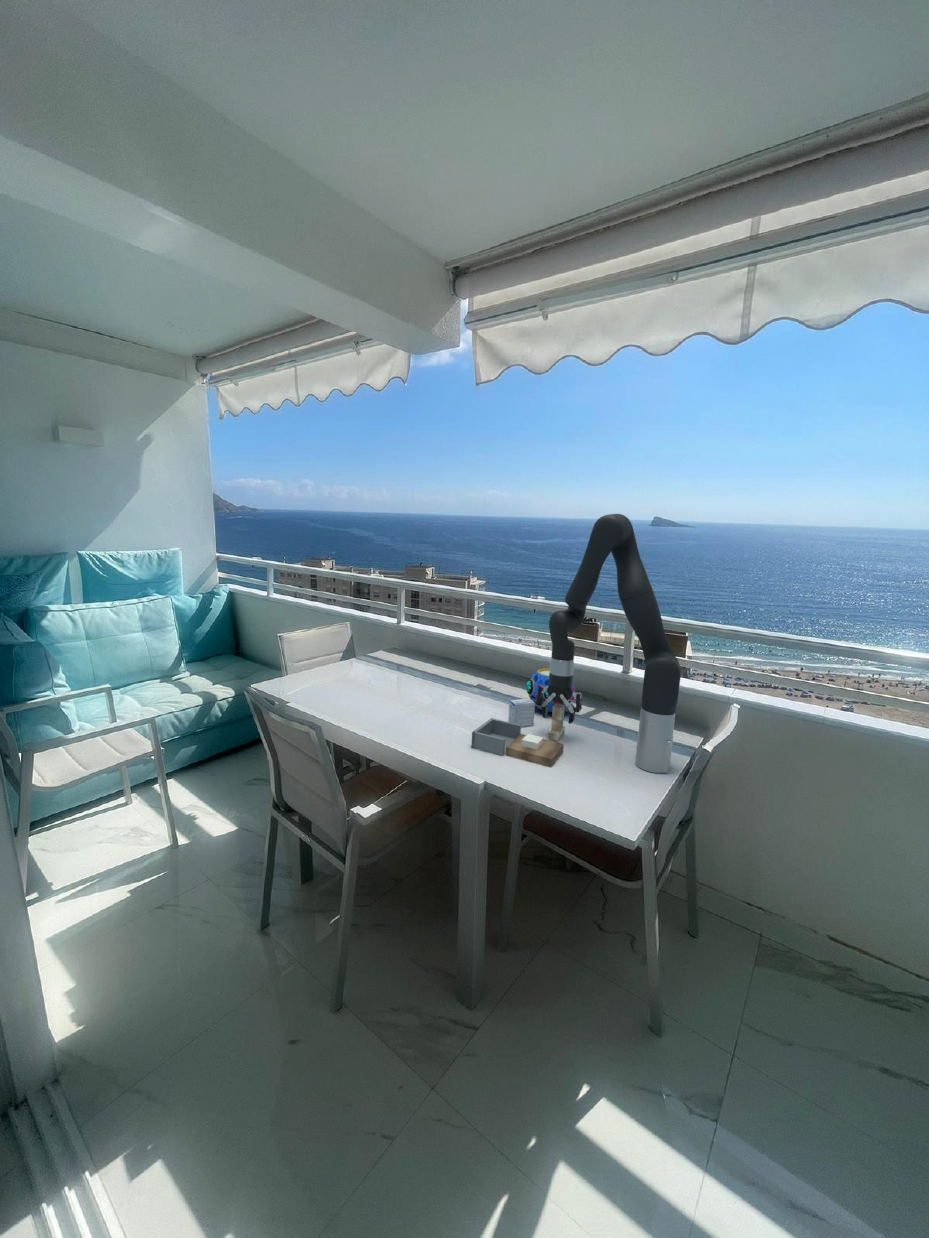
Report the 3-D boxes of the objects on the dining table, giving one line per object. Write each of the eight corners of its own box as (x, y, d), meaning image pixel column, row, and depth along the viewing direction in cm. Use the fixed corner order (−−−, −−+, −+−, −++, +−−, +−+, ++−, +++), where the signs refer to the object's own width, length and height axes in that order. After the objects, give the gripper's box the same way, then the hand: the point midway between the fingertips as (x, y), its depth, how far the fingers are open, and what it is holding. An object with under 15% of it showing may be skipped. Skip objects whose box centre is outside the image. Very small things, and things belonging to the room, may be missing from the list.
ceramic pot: (517, 709, 183) (519, 670, 180) (544, 699, 196) (547, 663, 193) (555, 722, 171) (559, 681, 168) (582, 711, 183) (585, 673, 181)
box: (520, 739, 155) (521, 724, 154) (502, 755, 143) (503, 740, 142) (490, 732, 160) (491, 718, 159) (471, 747, 148) (472, 732, 147)
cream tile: (542, 743, 147) (543, 737, 146) (537, 749, 142) (537, 743, 142) (527, 740, 149) (527, 733, 149) (521, 745, 144) (521, 739, 144)
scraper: (564, 734, 161) (566, 703, 159) (557, 743, 154) (559, 710, 152) (555, 732, 162) (557, 701, 160) (547, 741, 155) (550, 708, 153)
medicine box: (527, 721, 171) (529, 698, 170) (533, 726, 167) (535, 702, 166) (507, 723, 168) (509, 699, 167) (513, 728, 164) (515, 704, 163)
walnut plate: (563, 751, 148) (563, 743, 147) (551, 767, 137) (551, 758, 137) (520, 741, 154) (520, 733, 154) (505, 755, 143) (506, 747, 143)
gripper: (536, 670, 154) (532, 719, 157) (580, 678, 147) (576, 728, 150) (543, 665, 160) (540, 712, 163) (586, 673, 154) (582, 721, 157)
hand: (557, 720), depth 157 cm, fingers open, 8 cm apart
